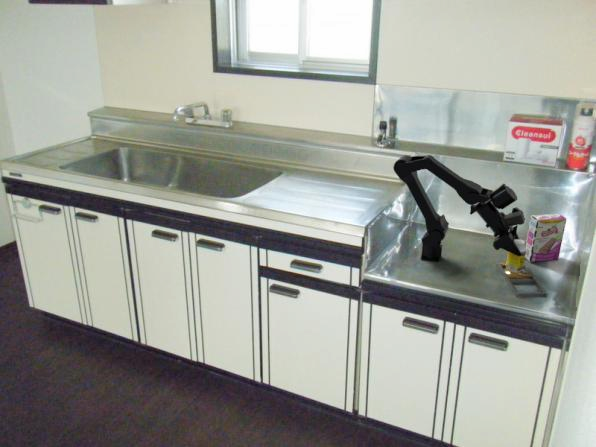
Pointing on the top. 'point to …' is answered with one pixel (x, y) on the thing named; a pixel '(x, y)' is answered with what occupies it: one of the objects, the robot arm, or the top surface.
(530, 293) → the rack
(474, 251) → the top surface
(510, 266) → the supplement bottle
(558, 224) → the candy bar box
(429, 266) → the top surface
